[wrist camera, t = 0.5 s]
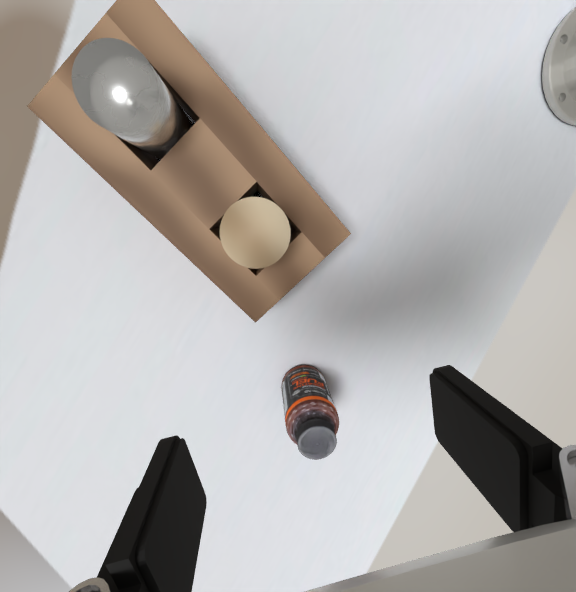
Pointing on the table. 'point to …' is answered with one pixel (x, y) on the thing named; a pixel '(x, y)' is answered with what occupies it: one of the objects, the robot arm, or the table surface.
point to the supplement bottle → (309, 412)
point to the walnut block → (196, 162)
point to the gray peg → (127, 96)
